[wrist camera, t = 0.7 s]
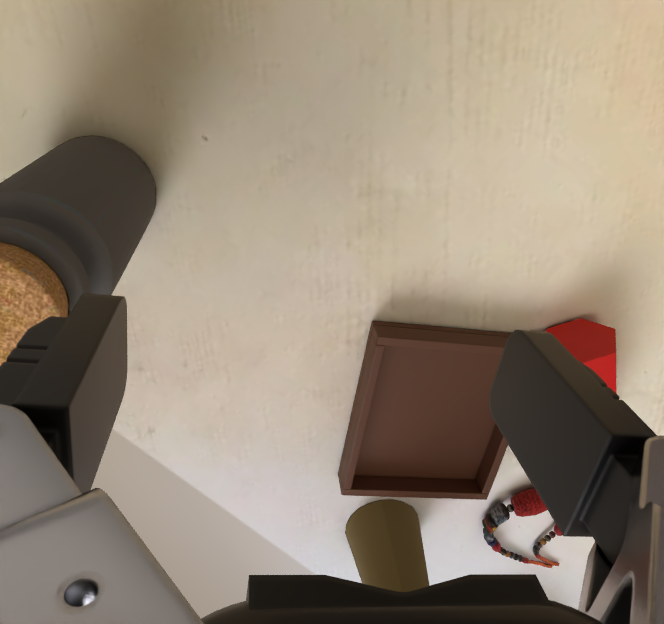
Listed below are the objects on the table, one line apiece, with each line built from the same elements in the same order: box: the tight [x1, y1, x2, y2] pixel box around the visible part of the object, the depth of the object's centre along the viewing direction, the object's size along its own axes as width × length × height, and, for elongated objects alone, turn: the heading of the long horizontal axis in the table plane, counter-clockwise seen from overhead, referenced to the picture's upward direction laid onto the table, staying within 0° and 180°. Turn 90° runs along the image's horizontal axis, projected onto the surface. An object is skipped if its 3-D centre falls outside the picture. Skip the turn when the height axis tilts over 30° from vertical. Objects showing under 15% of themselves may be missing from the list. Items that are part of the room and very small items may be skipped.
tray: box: [338, 321, 511, 500], centre depth 39 cm, size 13×11×2 cm
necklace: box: [482, 488, 563, 568], centre depth 47 cm, size 8×11×2 cm
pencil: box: [546, 318, 616, 393], centre depth 39 cm, size 5×12×4 cm, turn 16°
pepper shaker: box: [345, 500, 429, 592], centre depth 40 cm, size 6×6×11 cm
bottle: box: [0, 136, 156, 366], centre depth 24 cm, size 6×6×15 cm
